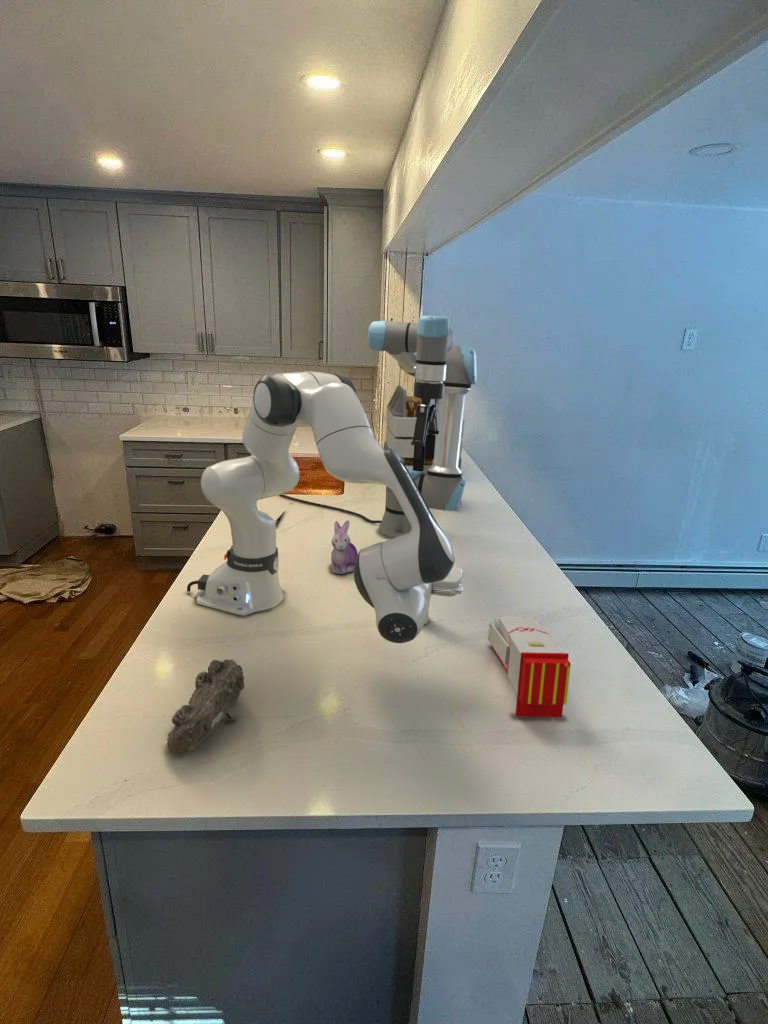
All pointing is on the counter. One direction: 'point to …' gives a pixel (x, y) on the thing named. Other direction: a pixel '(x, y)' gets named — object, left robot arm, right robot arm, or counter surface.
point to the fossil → (206, 705)
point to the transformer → (405, 426)
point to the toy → (531, 665)
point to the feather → (279, 519)
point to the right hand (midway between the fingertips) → (423, 464)
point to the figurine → (342, 550)
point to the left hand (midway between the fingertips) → (418, 560)
